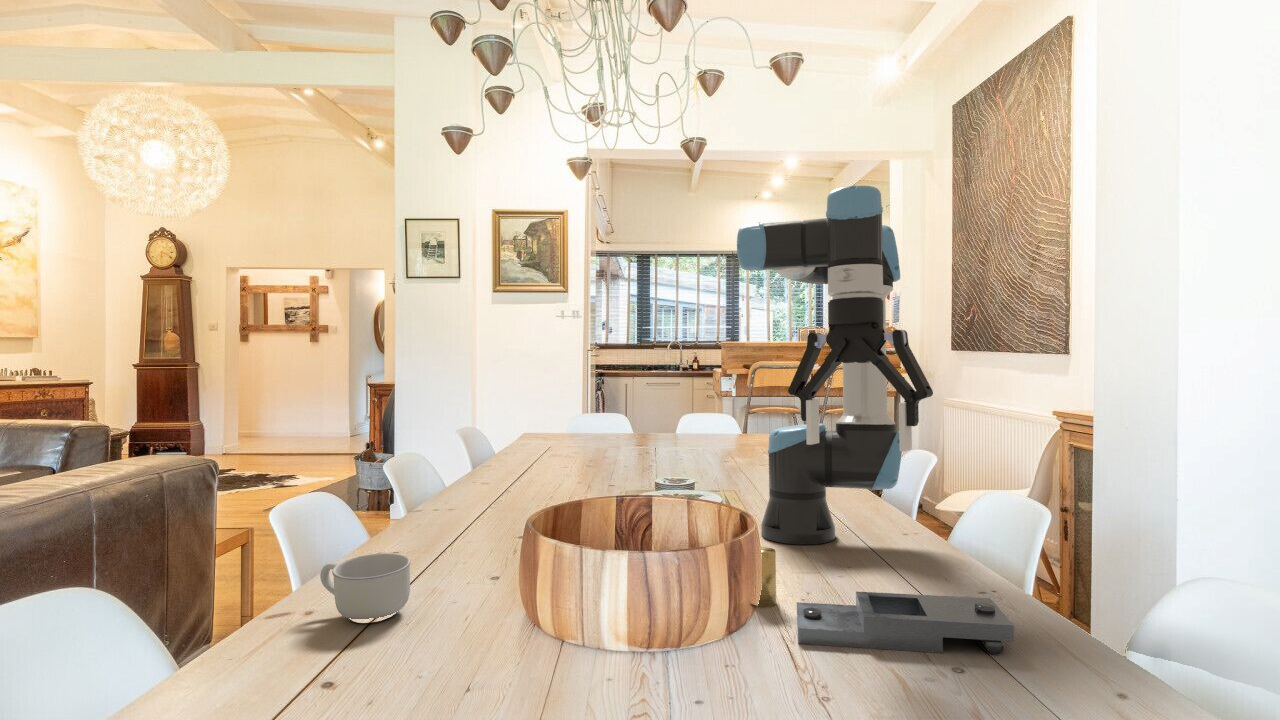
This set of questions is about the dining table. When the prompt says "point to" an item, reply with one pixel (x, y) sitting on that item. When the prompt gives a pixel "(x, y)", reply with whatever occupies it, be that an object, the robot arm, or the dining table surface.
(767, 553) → the brass pin
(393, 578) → the teacup
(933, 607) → the grey slotted bracket
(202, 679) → the dining table surface
